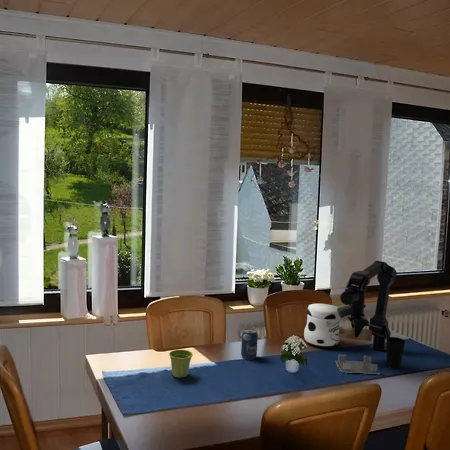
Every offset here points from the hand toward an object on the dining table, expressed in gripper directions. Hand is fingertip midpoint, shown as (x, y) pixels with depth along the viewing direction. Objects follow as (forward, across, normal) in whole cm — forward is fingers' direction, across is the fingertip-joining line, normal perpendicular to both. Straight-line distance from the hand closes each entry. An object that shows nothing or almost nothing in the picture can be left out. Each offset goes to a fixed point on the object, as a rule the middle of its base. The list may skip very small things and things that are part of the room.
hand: (355, 335), depth 227 cm
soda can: (+11, +4, -47) cm, 48 cm away
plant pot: (+12, +26, -75) cm, 80 cm away
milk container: (+11, -20, -11) cm, 25 cm away
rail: (+1, 0, 0) cm, 1 cm away
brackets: (+11, +10, -1) cm, 15 cm away
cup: (+11, +6, +16) cm, 21 cm away
